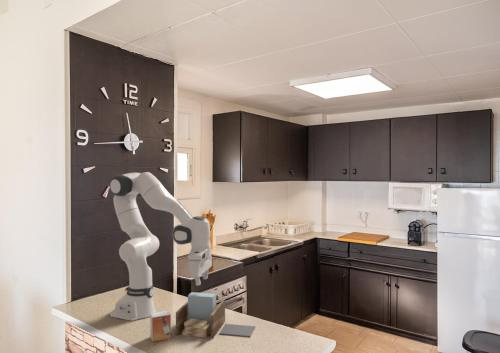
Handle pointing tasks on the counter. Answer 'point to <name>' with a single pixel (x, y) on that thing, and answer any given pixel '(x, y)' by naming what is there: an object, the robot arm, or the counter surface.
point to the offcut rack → (215, 318)
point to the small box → (160, 326)
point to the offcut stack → (196, 328)
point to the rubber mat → (237, 330)
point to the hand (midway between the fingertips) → (202, 281)
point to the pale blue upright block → (201, 305)
